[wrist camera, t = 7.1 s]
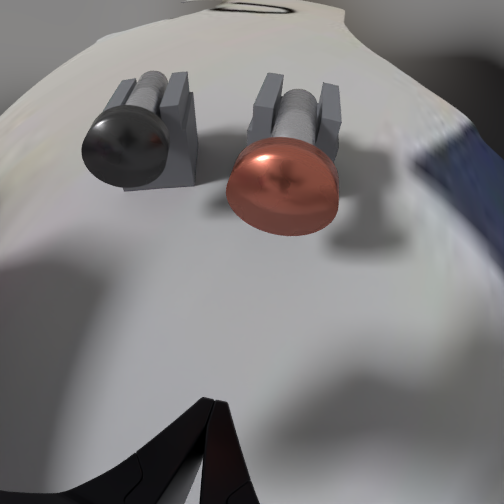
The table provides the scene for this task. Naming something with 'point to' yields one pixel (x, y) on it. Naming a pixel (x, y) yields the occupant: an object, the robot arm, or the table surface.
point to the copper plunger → (286, 175)
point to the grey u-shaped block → (171, 130)
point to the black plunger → (130, 137)
